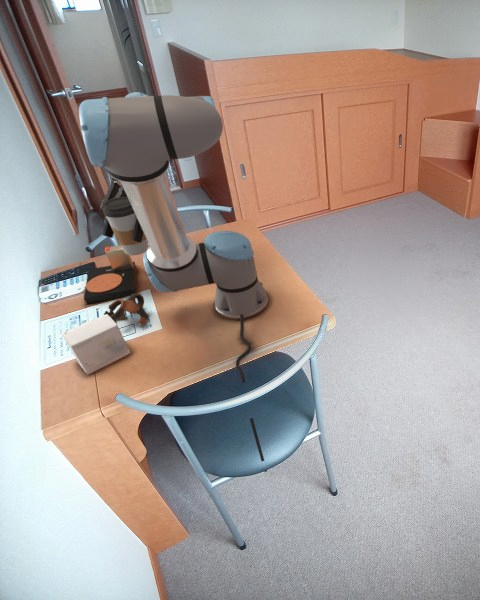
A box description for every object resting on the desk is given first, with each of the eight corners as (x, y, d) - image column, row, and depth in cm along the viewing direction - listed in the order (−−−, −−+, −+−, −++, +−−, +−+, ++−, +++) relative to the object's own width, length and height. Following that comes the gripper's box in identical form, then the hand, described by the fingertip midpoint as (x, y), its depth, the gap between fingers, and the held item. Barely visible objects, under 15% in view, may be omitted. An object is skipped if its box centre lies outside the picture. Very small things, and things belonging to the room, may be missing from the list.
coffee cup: (156, 251, 124) (139, 204, 115) (124, 261, 120) (104, 212, 110) (148, 239, 129) (131, 193, 120) (117, 248, 125) (97, 200, 115)
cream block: (133, 263, 139) (125, 243, 134) (133, 268, 137) (124, 248, 132) (114, 267, 137) (105, 246, 132) (113, 271, 135) (104, 251, 130)
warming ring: (121, 288, 129) (121, 287, 129) (84, 295, 126) (84, 294, 125) (122, 271, 136) (122, 270, 136) (87, 278, 132) (87, 277, 132)
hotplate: (143, 293, 132) (140, 286, 130) (87, 304, 126) (83, 297, 125) (143, 263, 144) (140, 257, 142) (91, 272, 139) (88, 265, 137)
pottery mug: (142, 334, 118) (115, 318, 113) (120, 340, 122) (93, 325, 116) (160, 300, 126) (136, 283, 120) (139, 306, 129) (115, 290, 123)
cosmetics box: (88, 376, 106) (70, 346, 99) (78, 362, 109) (59, 333, 102) (131, 353, 112) (117, 324, 106) (121, 342, 115) (106, 312, 109)
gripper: (183, 172, 123) (165, 247, 121) (118, 163, 126) (98, 237, 123) (166, 160, 116) (146, 241, 113) (97, 151, 118) (76, 229, 116)
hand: (121, 238), depth 118 cm, fingers closed on coffee cup, 8 cm apart
